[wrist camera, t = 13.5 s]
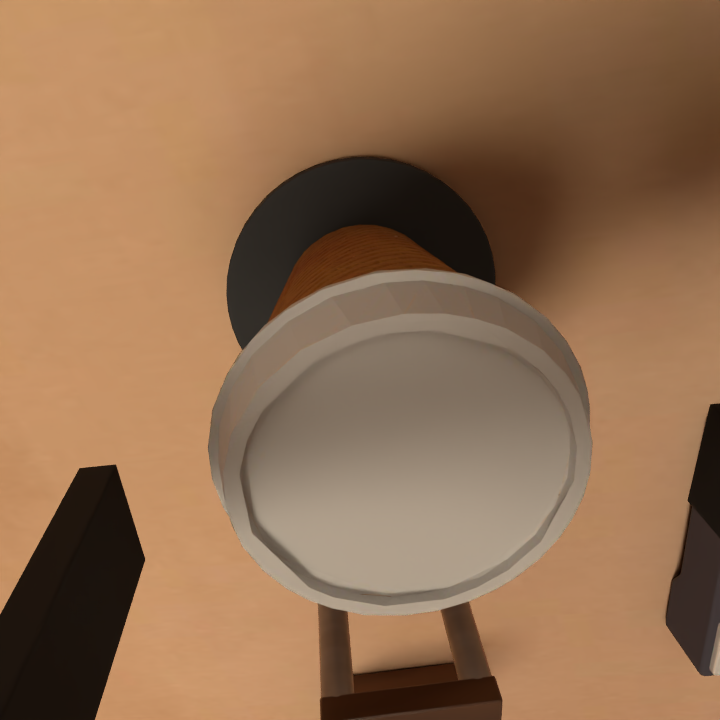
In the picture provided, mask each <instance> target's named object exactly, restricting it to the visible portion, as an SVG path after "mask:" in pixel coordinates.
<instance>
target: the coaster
mask: <svg viewBox="0 0 720 720" xmlns="http://www.w3.org/2000/svg"><path fill="white" fill-rule="evenodd" d="M354 225H378V226H382V227H387V228H391V229H393V230H395V231H397V232H400V233H402V234H404V235H406V236H407V237H408V238H410V239H411V240H413V241H414V242H415V243H417V244H418V245H419V246H420V247H422V248H423V249H425V250H426V251H428V252H429V253H430V254H432V255H433V256H435V257H436V258H438V259H439V260H441V261H442V262H444V263H445V264H446V265H447V266H449V267H450V268H452V269H453V270H455V271H456V272H457V273H463V274H467V275H470V276H472V277H475V278H478V279H480V280H483V281H486V282H488V283H491V284H493V285H495V268H494V262H493V256H492V252H491V249H490V245H489V242H488V239H487V237H486V234H485V232H484V230H483V228H482V226H481V224H480V222H479V221H478V219H477V218H476V216H475V215H474V213H473V212H472V210H471V209H470V207H469V206H468V205H467V204H466V203H465V202H464V201H463V200H462V199H461V197H460V196H459V195H458V194H457V193H455V192H454V191H453V190H452V189H451V188H449V187H448V186H447V185H446V184H445V183H443V182H442V181H441V180H439V179H438V178H436V177H434V176H433V175H431V174H429V173H428V172H426V171H424V170H421V169H419V168H417V167H414V166H412V165H410V164H407V163H403V162H399V161H396V160H392V159H385V158H377V157H350V158H344V159H337V160H332V161H329V162H325V163H322V164H319V165H315V166H313V167H311V168H309V169H306V170H304V171H302V172H300V173H298V174H296V175H294V176H293V177H291V178H290V179H288V180H286V181H285V182H283V183H282V184H281V185H279V186H278V187H277V188H276V189H275V190H273V191H272V192H271V193H270V194H269V195H267V197H266V198H265V199H264V200H263V201H262V202H261V203H260V204H259V205H258V206H257V208H256V209H255V210H254V212H253V213H252V214H251V216H250V217H249V219H248V220H247V222H246V223H245V225H244V227H243V229H242V231H241V233H240V235H239V237H238V239H237V242H236V244H235V247H234V250H233V254H232V257H231V260H230V265H229V270H228V276H227V304H228V312H229V316H230V320H231V324H232V328H233V330H234V333H235V335H236V338H237V340H238V343H239V345H240V346H241V348H242V350H243V349H244V348H245V347H246V346H247V345H248V343H249V342H250V341H251V340H252V339H253V338H254V337H255V336H256V334H257V333H258V332H259V331H260V330H261V329H262V328H263V326H264V325H266V324H267V323H268V320H269V318H270V316H271V314H272V312H273V310H274V308H275V306H276V304H277V301H278V299H279V297H280V295H281V293H282V291H283V289H284V287H285V284H286V282H287V280H288V278H289V276H290V274H291V272H292V270H293V268H294V266H295V264H296V263H297V261H298V260H299V258H300V257H301V256H302V254H303V253H304V251H306V250H307V249H308V248H309V247H310V246H311V245H312V244H313V243H314V242H316V241H317V240H319V239H320V238H322V237H323V236H325V235H326V234H329V233H331V232H333V231H336V230H338V229H341V228H343V227H348V226H354Z"/></svg>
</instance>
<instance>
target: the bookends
mask: <svg viewBox="0 0 720 720" xmlns="http://www.w3.org/2000/svg"><path fill="white" fill-rule="evenodd" d="M441 613H442V617H443V621H444V625H445V629H446V633H447V637H448V640H449V644H450V648H451V652H452V656H453V660H454V663H451V664H443V665H435V666H427V667H419V668H411V669H403V670H394V671H386V672H378V673H370V674H362V675H354V676H353V671H352V659H351V647H350V635H349V623H348V612H347V611H343V610H338V609H333V608H330V607H327V606H324V605H321V604H318V617H319V648H320V680H321V699H320V714H321V720H501V716H502V697H501V694H500V691H499V688H498V685H497V681H496V678H495V677H494V676H492V675H491V672H490V668H489V665H488V662H487V659H486V656H485V652H484V649H483V646H482V643H481V639H480V636H479V633H478V630H477V627H476V623H475V620H474V617H473V614H472V610H471V607H470V604H469V601H468V602H465V603H462V604H459V605H455V606H452V607H449V608H445V609H442V610H441ZM454 664H455V665H454ZM455 668H456V669H455ZM456 672H457V673H456Z"/></svg>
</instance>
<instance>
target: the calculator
mask: <svg viewBox="0 0 720 720" xmlns="http://www.w3.org/2000/svg"><path fill="white" fill-rule="evenodd" d="M666 625H667V627H668V628H669V630H670V631H671V633H672V634H673V636H674V637H675V639H676V640H677V641H678V643H679V644H680V646H681V647H682V649H683V650H684V652H685V653H686V655H687V656H688V658H689V659H690V660H691V662H692V663H693V665H694V666H695V668H696V669H697V671H698V672H699V673H700V674H701V675H703V676H711V675H720V538H719V537H718V536H717V534H716V533H715V532H714V531H713V530H712V529H711V527H710V526H709V525H708V524H707V523H706V522H705V520H704V519H703V518H702V517H701V516H700V515H699V513H698V512H697V511H696V510H695V509H694V508H693V506H692V510H691V516H690V522H689V528H688V534H687V540H686V546H685V552H684V558H683V564H682V569H681V574H680V575H679V576H677V577H676V578H674V579H673V580H672V586H671V592H670V598H669V605H668V611H667V617H666Z"/></svg>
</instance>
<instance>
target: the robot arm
mask: <svg viewBox="0 0 720 720" xmlns="http://www.w3.org/2000/svg"><path fill="white" fill-rule="evenodd" d="M688 502H689V503H690V504H691V505H692V506H693V508H694V509H695V510H696V511H697V512H698V513H699V515H700V516H701V517H702V518H703V519H704V520H705V522H706V523H707V524H708V525H709V526H710V527H711V529H712V530H713V531H714V532H715V533H716V534H717V536H718V537H719V538H720V404H710V408H709V412H708V416H707V421H706V425H705V429H704V433H703V438H702V442H701V446H700V450H699V455H698V459H697V463H696V467H695V472H694V476H693V480H692V484H691V489H690V493H689V497H688ZM144 562H145V557H144V554H143V551H142V547H141V544H140V541H139V538H138V534H137V531H136V528H135V525H134V522H133V518H132V515H131V512H130V509H129V505H128V502H127V499H126V496H125V492H124V489H123V486H122V483H121V480H120V476H119V473H118V470H117V467H116V465H107V466H97V467H87V468H79V470H78V472H77V474H76V476H75V478H74V479H73V481H72V483H71V485H70V487H69V489H68V491H67V492H66V494H65V496H64V498H63V500H62V502H61V503H60V505H59V507H58V509H57V511H56V513H55V515H54V516H53V518H52V520H51V522H50V524H49V526H48V527H47V529H46V531H45V533H44V535H43V537H42V539H41V540H40V542H39V544H38V546H37V548H36V550H35V551H34V553H33V555H32V557H31V559H30V561H29V563H28V564H27V566H26V568H25V570H24V572H23V574H22V575H21V577H20V579H19V581H18V583H17V585H16V587H15V588H14V590H13V592H12V594H11V596H10V598H9V599H8V601H7V603H6V605H5V607H4V609H3V611H2V612H1V614H0V720H95V717H96V714H97V711H98V708H99V705H100V701H101V698H102V695H103V692H104V689H105V686H106V682H107V679H108V676H109V673H110V670H111V666H112V663H113V660H114V657H115V654H116V651H117V647H118V644H119V641H120V638H121V635H122V631H123V628H124V625H125V622H126V619H127V616H128V612H129V609H130V606H131V603H132V600H133V597H134V593H135V590H136V587H137V584H138V581H139V577H140V574H141V571H142V568H143V565H144Z"/></svg>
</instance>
